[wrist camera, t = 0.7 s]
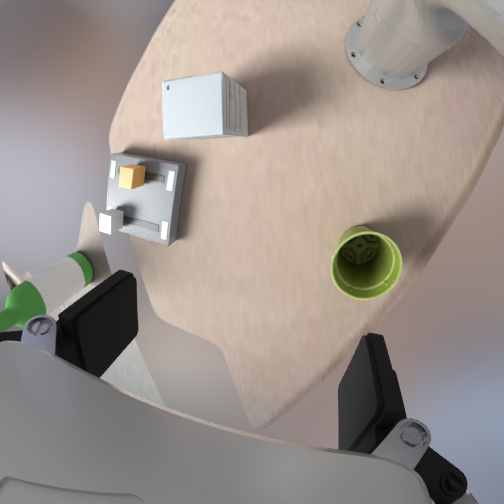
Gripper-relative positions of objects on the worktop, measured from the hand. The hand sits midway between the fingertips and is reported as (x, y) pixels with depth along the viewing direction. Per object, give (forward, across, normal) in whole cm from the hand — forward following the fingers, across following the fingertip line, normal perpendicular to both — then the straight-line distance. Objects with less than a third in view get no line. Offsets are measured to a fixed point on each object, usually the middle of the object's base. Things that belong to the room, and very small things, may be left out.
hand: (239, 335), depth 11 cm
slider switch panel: (+34, +24, +4) cm, 42 cm away
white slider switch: (+30, +28, +8) cm, 42 cm away
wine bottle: (+34, +41, +23) cm, 58 cm away
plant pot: (+34, -11, +5) cm, 36 cm away
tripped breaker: (+30, +24, 0) cm, 38 cm away
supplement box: (+34, +12, -10) cm, 37 cm away
